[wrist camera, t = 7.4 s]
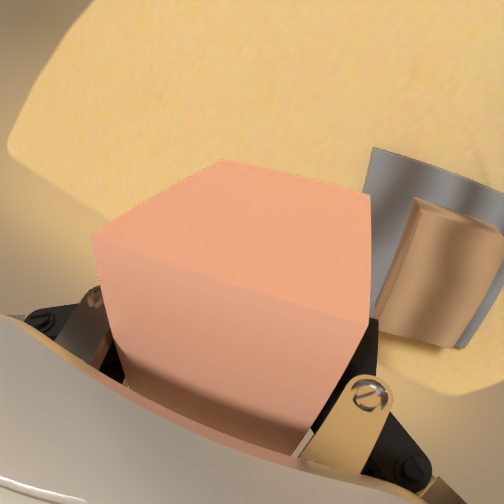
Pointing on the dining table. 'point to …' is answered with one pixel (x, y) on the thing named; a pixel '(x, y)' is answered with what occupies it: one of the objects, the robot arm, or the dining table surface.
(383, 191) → the base
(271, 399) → the brick
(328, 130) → the dining table surface
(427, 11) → the dining table surface
